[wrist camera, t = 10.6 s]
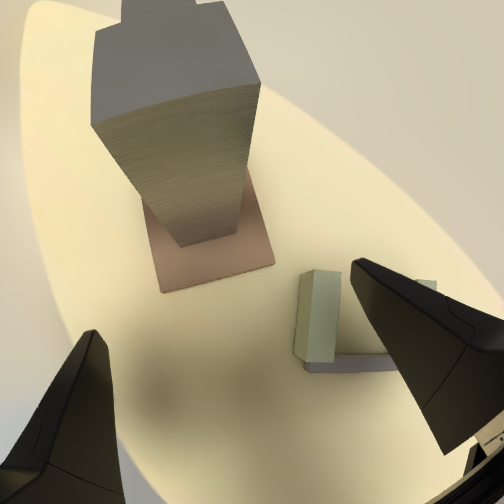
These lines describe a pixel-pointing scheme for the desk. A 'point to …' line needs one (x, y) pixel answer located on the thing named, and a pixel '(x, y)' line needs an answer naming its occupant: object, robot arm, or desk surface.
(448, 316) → the robot arm
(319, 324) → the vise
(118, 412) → the desk surface
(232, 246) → the walnut board
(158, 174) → the stepped metal bracket
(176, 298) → the desk surface
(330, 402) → the desk surface
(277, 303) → the desk surface
